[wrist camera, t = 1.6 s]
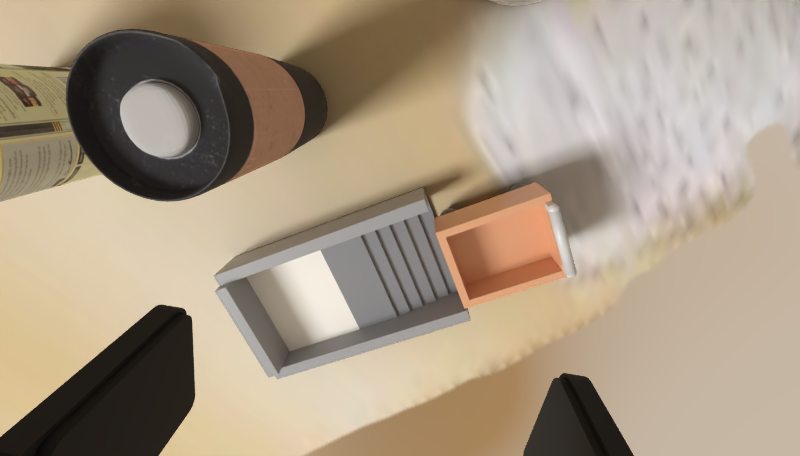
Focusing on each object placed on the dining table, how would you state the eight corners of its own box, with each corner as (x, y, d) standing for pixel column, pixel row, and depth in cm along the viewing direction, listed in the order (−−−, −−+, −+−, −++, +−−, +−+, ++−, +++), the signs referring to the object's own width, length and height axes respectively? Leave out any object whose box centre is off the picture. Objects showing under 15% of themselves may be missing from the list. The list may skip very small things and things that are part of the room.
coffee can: (23, 148, 38) (-189, 178, 25) (36, 46, 34) (-201, 18, 21) (123, 192, 39) (-27, 244, 26) (145, 99, 36) (-14, 103, 22)
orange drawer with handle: (529, 176, 37) (558, 197, 29) (549, 246, 39) (580, 283, 32) (432, 211, 38) (436, 239, 31) (457, 276, 41) (466, 318, 33)
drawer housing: (423, 187, 37) (424, 202, 32) (464, 297, 42) (471, 326, 36) (234, 257, 41) (208, 280, 36) (290, 352, 45) (273, 385, 40)
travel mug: (256, 147, 37) (89, 204, 18) (244, 62, 34) (36, 25, 15) (333, 147, 36) (245, 205, 18) (327, 61, 34) (218, 23, 15)
